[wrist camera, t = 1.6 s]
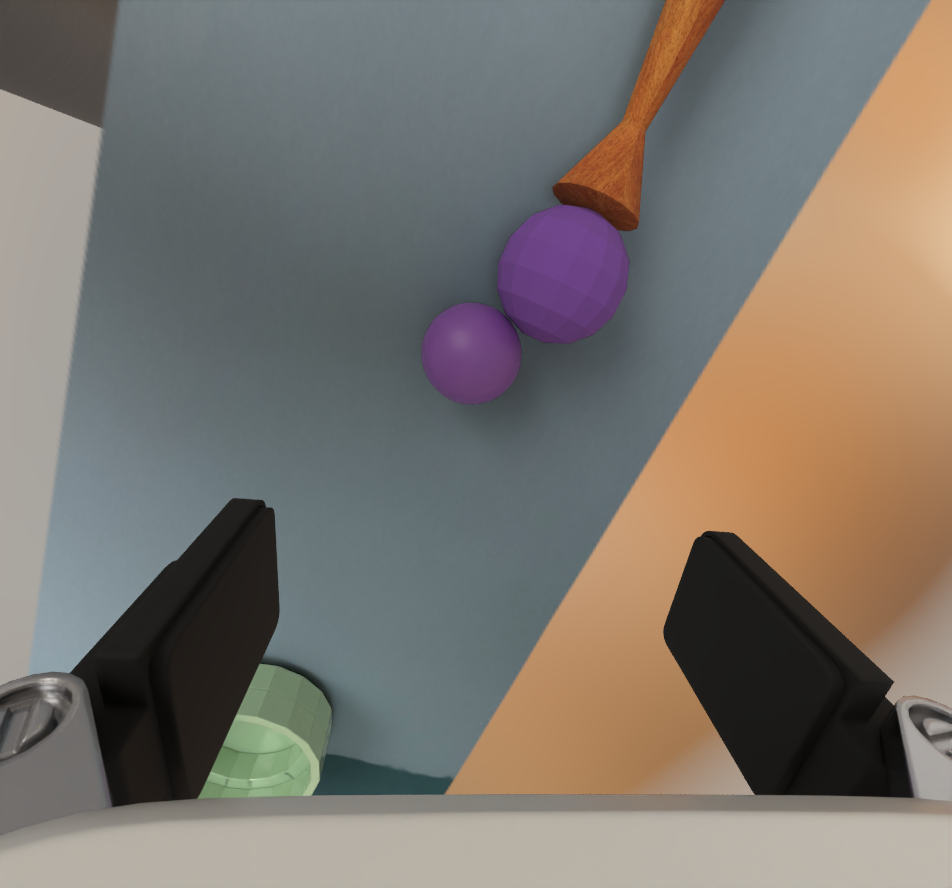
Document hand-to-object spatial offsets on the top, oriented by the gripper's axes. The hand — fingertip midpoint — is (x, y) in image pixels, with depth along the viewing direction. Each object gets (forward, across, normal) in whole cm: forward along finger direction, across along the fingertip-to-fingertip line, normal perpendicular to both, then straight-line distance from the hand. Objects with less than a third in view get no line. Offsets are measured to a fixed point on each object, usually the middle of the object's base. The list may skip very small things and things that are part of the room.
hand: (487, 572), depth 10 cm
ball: (+14, 0, -2) cm, 15 cm away
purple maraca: (+17, -6, -13) cm, 22 cm away
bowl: (+17, +13, +27) cm, 34 cm away
